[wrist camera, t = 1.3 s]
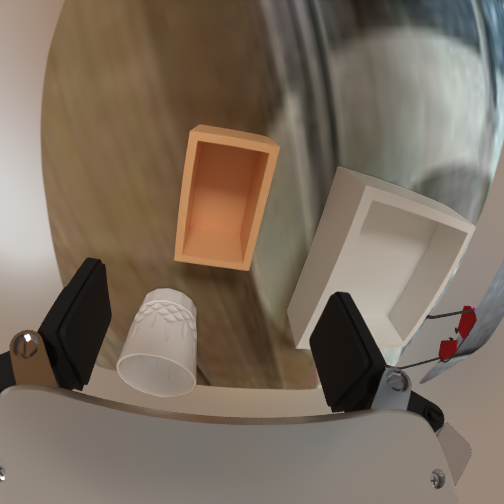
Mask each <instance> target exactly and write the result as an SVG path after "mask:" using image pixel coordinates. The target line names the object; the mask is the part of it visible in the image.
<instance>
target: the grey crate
mask: <svg viewBox="0 0 504 504" xmlns="http://www.w3.org/2000/svg"><path fill="white" fill-rule="evenodd" d="M475 228H476V227H475V226H474V225H473V224H471V223H470V222H469V221H467V220H466V219H465V218H463V217H462V216H460V215H459V214H458V213H456V212H455V211H453V210H452V209H450V208H449V207H448V206H446V205H444V204H442V203H440V202H438V201H435V200H433V199H430V198H428V197H426V196H423V195H421V194H418V193H416V192H413V191H411V190H408V189H405V188H403V187H400V186H398V185H395V184H392V183H389V182H386V181H384V180H381V179H378V178H375V177H372V176H369V175H366V174H363V173H360V172H357V171H354V170H350V169H347V168H344V167H340V166H337V170H336V173H335V176H334V179H333V182H332V186H331V189H330V192H329V195H328V198H327V201H326V204H325V207H324V210H323V213H322V216H321V219H320V222H319V225H318V228H317V231H316V233H315V236H314V239H313V242H312V245H311V247H310V250H309V253H308V256H307V259H306V261H305V264H304V267H303V269H302V272H301V275H300V277H299V280H298V283H297V285H296V288H295V290H294V293H293V296H292V298H291V301H290V303H289V306H288V308H287V315H288V319H289V323H290V327H291V331H292V335H293V339H294V343H295V347H296V349H311V348H310V344H309V339H310V336H311V334H312V332H313V330H314V328H315V326H316V324H317V322H318V320H319V318H320V316H321V314H322V312H323V310H324V308H325V306H326V304H327V301H328V299H329V297H330V296H331V295H332V294H334V293H335V292H337V291H339V292H348V293H349V294H350V295H351V297H352V299H353V300H354V302H355V304H356V306H357V308H358V310H359V311H360V313H361V315H362V317H363V319H364V321H365V323H366V325H367V326H368V328H369V330H370V332H371V334H372V336H373V338H374V340H375V342H376V344H377V346H378V348H390V347H405V345H406V344H407V343H408V342H409V340H410V339H411V337H412V336H413V335H414V333H415V332H416V331H417V329H418V328H419V326H420V325H421V324H422V322H423V321H424V319H425V318H426V316H427V315H428V313H429V312H430V310H431V309H432V307H433V306H434V304H435V303H436V301H437V299H438V298H439V296H440V295H441V293H442V291H443V290H444V288H445V286H446V285H447V283H448V281H449V279H450V278H451V276H452V274H453V272H454V270H455V269H456V267H457V265H458V263H459V261H460V259H461V257H462V255H463V253H464V251H465V249H466V247H467V245H468V243H469V241H470V239H471V237H472V235H473V232H474V230H475Z"/></svg>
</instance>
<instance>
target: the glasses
mask: <svg viewBox="0 0 504 504" xmlns="http://www.w3.org/2000/svg"><path fill="white" fill-rule="evenodd" d="M474 311H476V308H473V309H472V308H471V306H464V308H463V311H460V312H454V313H448V314H443V315H437V316H430V315H427V316H426V318H429V319H435V318H440V317H446V316H451V315H456V314H461V313H462V315H461V319H460V323H459V326H458V329H457V328H455V332H456V334H457V331H459V333H460V335H461V337H462V338H463V339H464V340H465V339H466V337H467V336H469V335H468V334H469V333H470V331H471V330H472V328H473V326H474V324H475V323H476V321H477V318H476V315H475V312H474ZM449 339H450V340H447V341H441V344H440V350H439V357H438V358H435V359H431V360H428V361H424V362H420V363H417V364H413V365H409V366H405V367H395V368H399V369H405V368H409V367H413V366H416V365H420V364H424V363H427V362H431V361H434V360H438V359H441V361H442V362H444V363H446V362H448V361H449V360H450V359H451V358H452V357H453V355H454V354H456V352H457V351H458V348H459V347H460V346H461V344H462V343H463V341H464V340H463V341H462V343H461V344H460V345H459V347H458V348H457V344H458V340H453V338H449ZM450 356H451V358H450V359H449V360H448V361H443V360H445V359H447V358H448V357H450ZM385 367H387V368H391V367H393V366H390V365H386V364H385Z"/></svg>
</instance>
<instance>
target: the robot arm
mask: <svg viewBox="0 0 504 504" xmlns="http://www.w3.org/2000/svg"><path fill="white" fill-rule="evenodd" d="M111 315H112V314H111V307H110V300H109V293H108V286H107V277H106V267H105V264H102V262H101V260H100V259H94V258H89V257H88V258H86V260H85V261H84V262H83V264H82V265H81V267H80V268H79V269H78V271H77V272H76V274H75V275H74V277H73V278H72V280H71V281H70V282H69V284H68V285H67V286H66V287H65V288H64V289H63V290H62V292H61V293H60V295H59V296H58V298H57V299H56V301H55V302H54V304H53V306H52V307H51V309H50V311H49V312H48V314H47V316H46V317H45V319H44V321H43V322H42V324H41V326H40V328H39V329H38V331H37V332H35V331H33V330H24V331H21V332H19V333H17V334H16V335H15V336H14V337H13V339H12V340H11V343H10V351H8V352H5V353H3V354H1V355H0V504H459V500H458V496H457V493H456V489H455V486H456V484H457V482H458V480H459V479H460V477H461V475H462V473H463V471H464V469H465V467H466V465H467V463H468V461H469V459H470V457H471V454H472V453H471V447H470V445H469V443H468V442H467V441H466V440H465V439H464V438H463V437H462V436H461V435H460V434H459V433H458V432H457V431H456V430H455V429H454V428H453V427H452V426H451V425H450V424H449V423H448V422H446V423H444V415H443V412H442V410H441V409H440V408H439V407H438V406H437V405H435V404H434V403H432V402H430V401H429V400H427V399H425V398H423V397H422V396H420V395H418V394H417V393H415V392H413V391H412V390H411V388H412V384H411V380H410V378H409V376H408V375H407V374H406V373H405V372H404V371H402V370H401V369H399V368H395V367H391V368H388V369H386V368H385V364H386V362H385V360H384V358H383V356H382V354H381V352H380V350H379V348H378V346H377V344H376V342H375V340H374V338H373V336H372V334H371V332H370V330H369V328H368V326H367V325H366V323H365V321H364V319H363V317H362V315H361V313H360V311H359V310H358V308H357V306H356V304H355V302H354V300H353V299H352V297H351V295H350V294H349V293H348V292H339V291H337V292H335V293H334V294H332V295H331V296H330V297H329V299H328V301H327V304H326V306H325V308H324V310H323V312H322V314H321V316H320V318H319V320H318V322H317V324H316V326H315V328H314V330H313V332H312V334H311V336H310V339H309V344H310V348H311V351H312V354H313V358H314V361H315V364H316V368H317V371H318V375H319V378H320V381H321V385H322V388H323V392H324V395H325V399H326V402H327V405H328V406H331V410H332V412H333V413H334V412H343V411H344V412H345V413H338V414H328V415H317V416H304V417H283V418H239V417H218V416H205V415H194V414H185V413H177V412H169V411H162V410H156V409H150V408H144V407H139V406H134V405H128V404H124V403H119V402H115V401H110V400H106V399H102V398H98V397H94V396H90V395H86V394H83V393H79V392H75V391H72V390H73V389H77V390H80V391H82V389H83V386H84V385H87V384H88V382H89V379H90V376H91V373H92V370H93V367H94V364H95V362H96V359H97V356H98V353H99V350H100V348H101V345H102V342H103V339H104V337H105V334H106V332H107V329H108V327H109V324H110V321H111Z"/></svg>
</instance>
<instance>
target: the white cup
mask: <svg viewBox="0 0 504 504" xmlns="http://www.w3.org/2000/svg"><path fill="white" fill-rule="evenodd" d="M196 314H197V309H196V307H195V305H194V303H193V301H192V300H191V299H190V298H189V297H187V296H186V295H185V294H184V293H182V292H179V291H176V290H173V289H170V288H163V289H155V290H153V291H151V292H149V293H147V295H146V296H145V298H144V300H143V301H142V303H141V306H140V309H139V311H138V312H137V314H136V316H135V318H134V321H133V323H132V325H131V327H130V330H129V333H128V335H127V338H126V341H125V343H124V346H123V349H122V351H121V354H120V357H119V360H118V362H117V372H118V374H119V375H120V377H121V378H122V379H123V381H125V382H126V383H127V384H128V385H130V386H131V387H133V388H134V389H136V390H138V391H140V392H143V393H146V394H149V395H153V396H157V397H167V398H170V397H171V398H172V397H180V396H184V395H187V394H189V393H190V392H192V391H193V390H194V388H195V387H196V365H197V329H196Z"/></svg>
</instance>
